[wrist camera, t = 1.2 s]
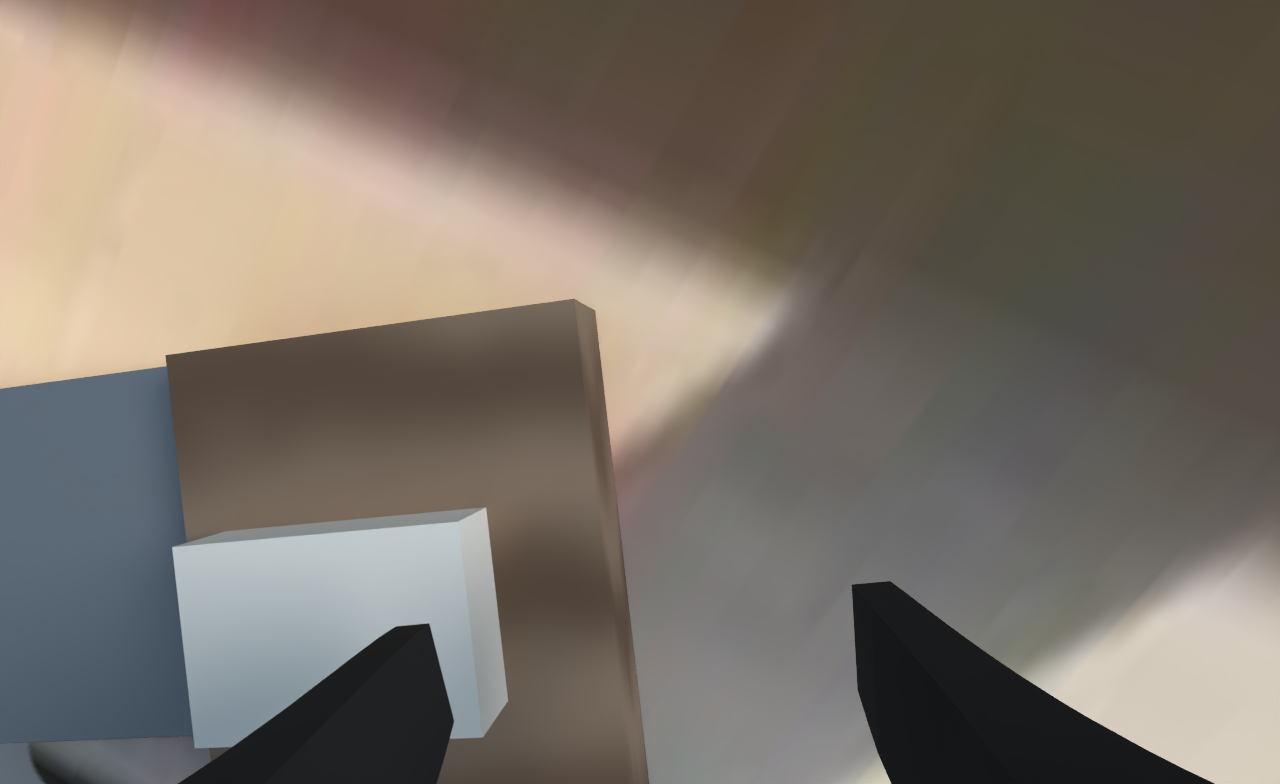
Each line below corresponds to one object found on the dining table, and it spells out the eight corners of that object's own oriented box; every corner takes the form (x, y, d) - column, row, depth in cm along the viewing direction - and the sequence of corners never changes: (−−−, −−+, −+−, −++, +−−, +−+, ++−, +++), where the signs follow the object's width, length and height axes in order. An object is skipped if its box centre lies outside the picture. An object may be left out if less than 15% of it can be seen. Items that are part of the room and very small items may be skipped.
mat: (265, 725, 24) (256, 733, 23) (-20, 737, 25) (-35, 744, 25) (224, 360, 24) (213, 360, 23) (-58, 398, 25) (-73, 398, 25)
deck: (653, 823, 22) (642, 894, 19) (289, 830, 23) (226, 894, 20) (595, 310, 22) (573, 298, 19) (236, 358, 24) (165, 355, 21)
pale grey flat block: (485, 507, 19) (458, 521, 17) (507, 700, 19) (482, 737, 17) (225, 531, 20) (172, 547, 18) (246, 712, 20) (194, 748, 18)
